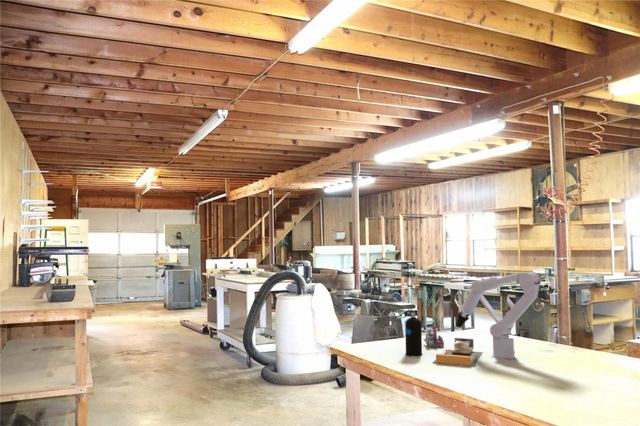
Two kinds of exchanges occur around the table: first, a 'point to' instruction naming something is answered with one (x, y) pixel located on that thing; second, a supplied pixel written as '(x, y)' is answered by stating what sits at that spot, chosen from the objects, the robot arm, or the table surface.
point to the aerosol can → (413, 336)
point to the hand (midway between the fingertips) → (459, 324)
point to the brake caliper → (433, 339)
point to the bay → (458, 358)
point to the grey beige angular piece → (463, 346)
